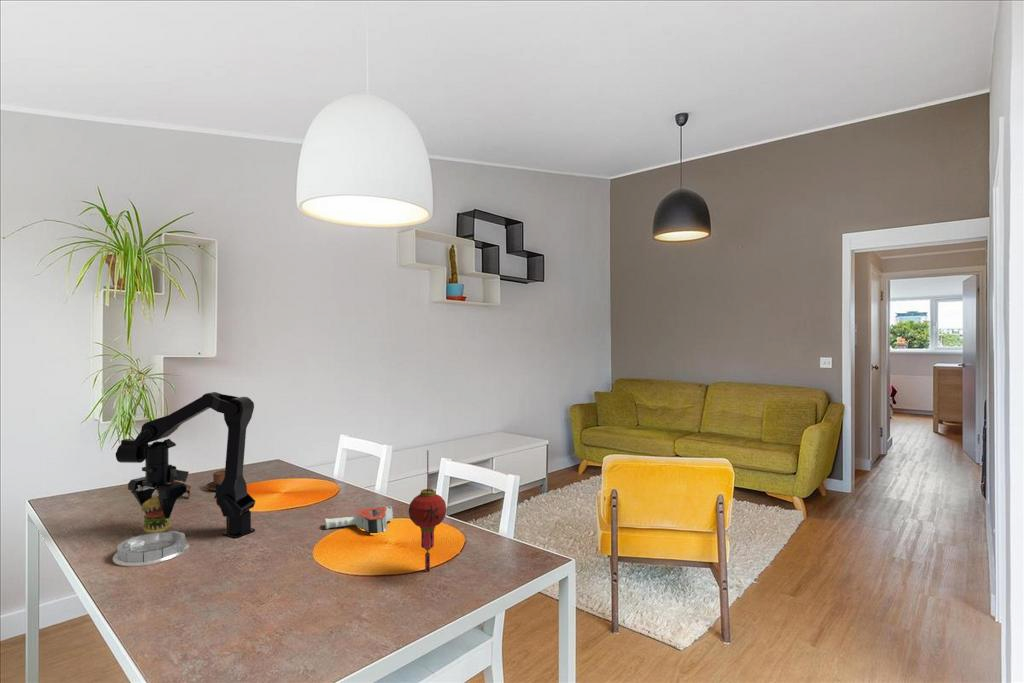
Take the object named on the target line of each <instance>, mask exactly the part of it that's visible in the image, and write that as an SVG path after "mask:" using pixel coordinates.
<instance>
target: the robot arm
mask: <svg viewBox="0 0 1024 683" xmlns="http://www.w3.org/2000/svg"><path fill="white" fill-rule="evenodd" d="M210 409H211V410H214V411H216V412H217V413H221V414H223V418H224V419H223V420H224V422H225V424H226V427H227V438H226V439H227V441H226V442H227V443H226V456H225V465H224V467H225V468H224V470H225V477H224V479H223V481H222V482H220V483H218V484H216V487H215V488H216V491H215V495H214V497H213V499H215V500H216V505H217V506H218V507H219V509H220V510H221V513H222V516H223V517H226V524H225V525H226V527H225V528H226V530H224V531H222V532H221V534H222V535H223V536H227V537H232V538H235V539H237V538H240V537H242V536H245V535H248V534H250V533H253V532H256V528H253V527H252V512H251V511H250V510H251V509H252V508H254V507H255V504H256V500H255V499H254V498H253V497H252V496H251V495H250V494H249V493H248V487H247V486H248V485H247V482H246V480H245V478H244V474H243V473H244V463H245V462H244V460H245V449H246V439H247V438H246V437H247V428H248V425H249V424H250V422H251V420H252V417H253V413H254V409H255V403H254V401H253V400H252V399H251V398H250V397H248V396H239V397H238V396H234V395H229V394H222V393H219V392H216V391H212V392H207V393H204V394H203V395H202V396H201V397H198V398H197V399H195V400H193V401H191V402H190V403H188V404H186V405H183V406H182V407H181V408H179V409H177V410H176V411H174V412H172V413H170V414H168V415H165V416H161V417H158V418H155V419H153V420H150V421H146V422H144V423H143V424H142V426H141V429H140V432H139V433H138V435H137V436H136V437H135V438H134V439H132V438H125V439H122V440H120V445H118V447H117V449H116V452H115V459H116V461H117V463H120V464H121V463H123V464H124V463H127V464H128V463H132V464H138V463H139V464H140V463H143V462H144V461H145V463H144V464H145V466H143V467H141V472H145V473H144V474H145V476H141V477H137V478H134V479H131V480H130V481H129V482H128V483H127V490H128V491H130V494H132V495H133V496H134V497H135V499H136V500H137V502H138V504H139V505H140V507H141V508H142V505H143V503H144V502H145V501H147V500H149V499H151V498H153V494H154V492H155V490H156V491H157V490H158V494H157V495H160V497H158V496H157V497H158V499H159V502H160V505H161V508H162V511H163V514H164V516H165V518H169V517H170V518H171V514H172V512H173V509H174V507H175V503H176V502H177V500H178V499H179V498H181V497H182V496H183V495H184V494H186V493H187V485H188V484H187V485H185V484H186V482H187V479H188V476H189V473H190V472H189V471H188V470H187V471H186V470H180V469H177V466H176V465H173V464H169V456H170V455H169V449H170V448H173V447H176V446H177V443H175V442H174V441H172V440H171V438H168V437H170V436H171V435H172V434H173V433H174V432H175V431H177V430H178V429H179V427H180V426H181V425H183V424H184V423H186V422H188V421H191V419H193V418H195V417H197V416H199V415H200V414H202V413H203V412H206V411H208V410H210ZM165 438H167V439H165ZM162 439H164V440H162ZM159 440H162V441H159ZM174 480H175V481H179V482H181V483H179V482H174ZM172 482H174V483H172ZM168 483H170V484H168ZM184 483H185V484H184ZM143 512H144V513H145V514H146V513H147V512H148V511H143ZM170 518H169V519H170Z"/></svg>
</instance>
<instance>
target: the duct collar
mask: <svg viewBox="0 0 1024 683" xmlns="http://www.w3.org/2000/svg"><path fill="white" fill-rule="evenodd" d="M189 548H190V543H189V541H187V540H186V535H185V533H184V532H180V531H177V530H167V531H159V532H153V533H143V534H140V535H136V536H132V537H130V538H128V539H125V540H124V541H122V542H121V543H119V544H117V549H116V553H114V554H113V556H112V563H113V564H114V565H116V566H120V567H127V568H129V567H131V568H132V567H144V566H151V565H156V564H157V565H158V564H160V562H161V563H164V562H168V561H170V560H173V559H175V558H178V557H180V556H182V555H184V554H185V553H186V552H188V550H189Z"/></svg>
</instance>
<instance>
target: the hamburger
mask: <svg viewBox="0 0 1024 683" xmlns="http://www.w3.org/2000/svg"><path fill="white" fill-rule="evenodd" d="M156 495H159V494H158V490H156ZM140 509H141V512H144V511H148V512H147V513H145V514H144V515H143V518H144V520H143V523H144V524H143V526H142V528H143V530H144V532H145V534H147V533H153V532H159V531H169V529H170V527H171V525H172V522H171V520H170V518H171V516H170V517H169V518H165V516H164V514H163V511H162V508H161V505H160V502H159V499H158V496H155V497H152V498H151V499H149V500H147V501H145V502H144V503H143V505H142V507H141V508H140Z"/></svg>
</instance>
